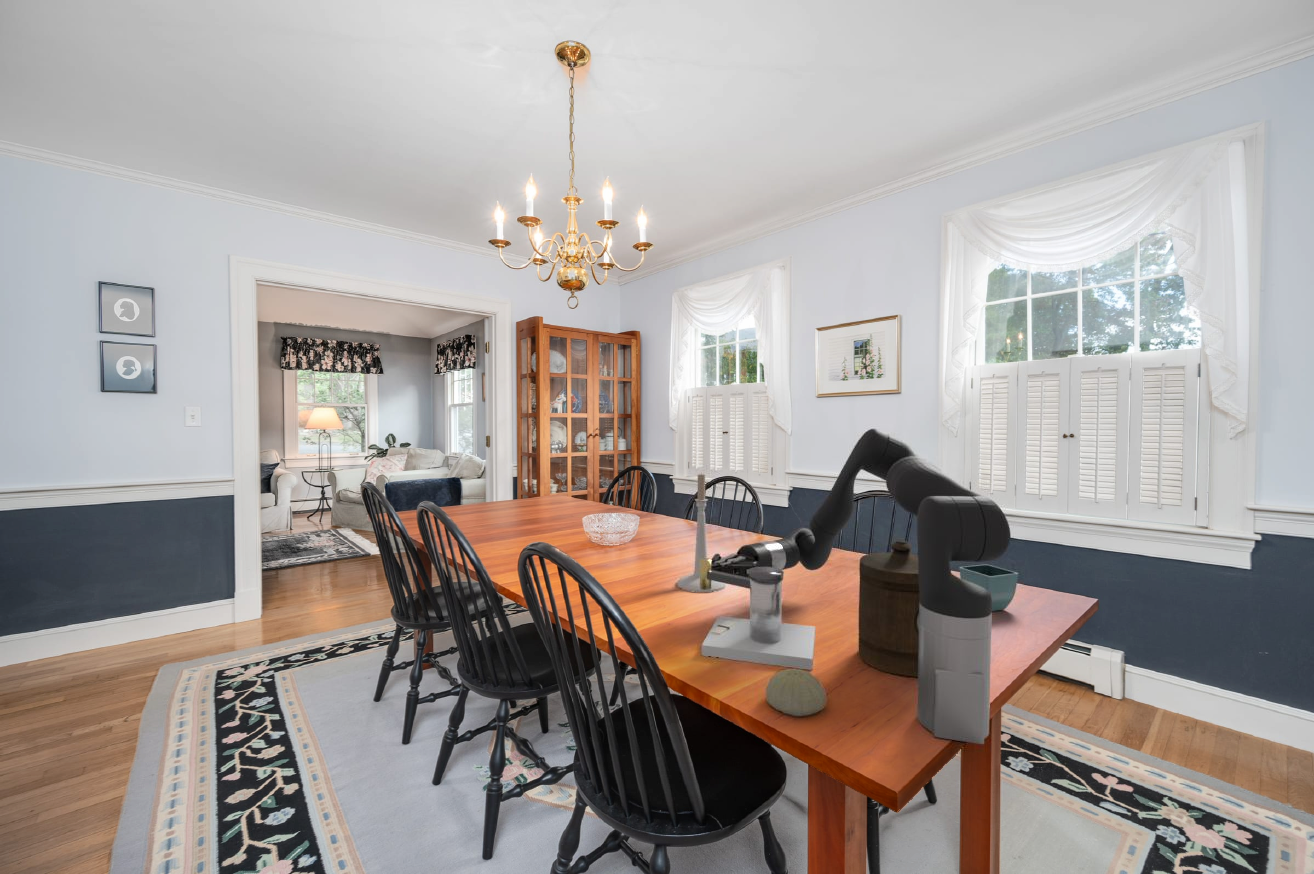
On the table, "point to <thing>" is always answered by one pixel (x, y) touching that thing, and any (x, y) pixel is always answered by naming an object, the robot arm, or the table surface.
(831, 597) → the table surface
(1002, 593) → the flower pot
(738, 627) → the stand
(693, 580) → the candlestick
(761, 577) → the capstan
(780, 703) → the sea urchin shell
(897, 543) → the wooden container
